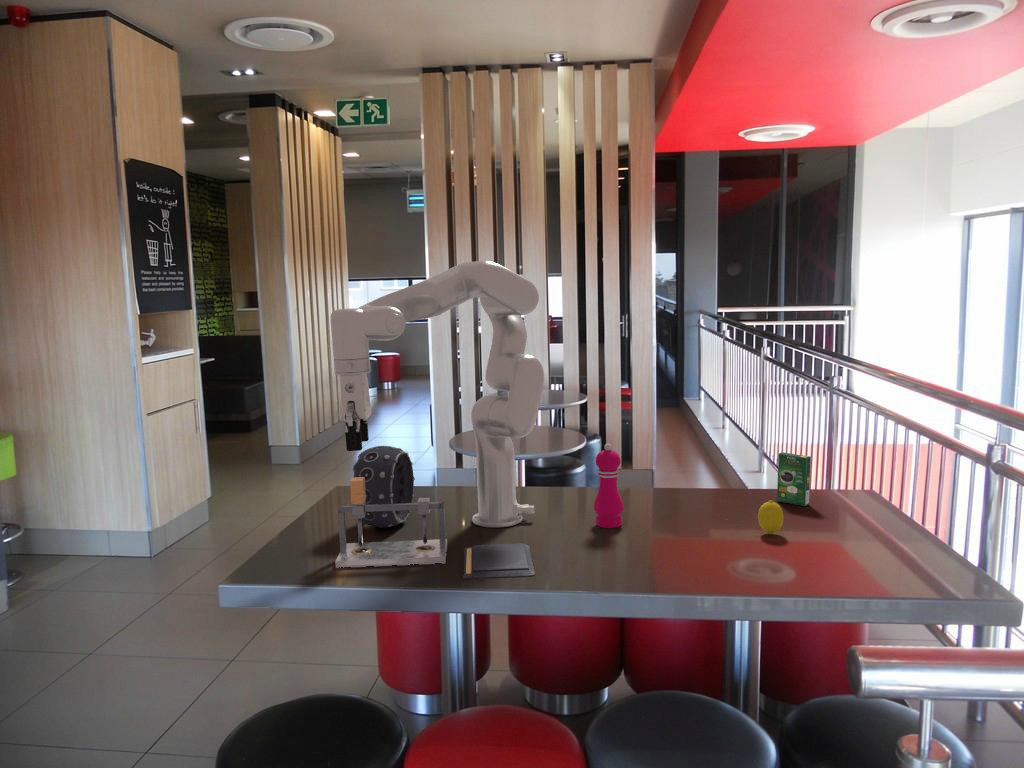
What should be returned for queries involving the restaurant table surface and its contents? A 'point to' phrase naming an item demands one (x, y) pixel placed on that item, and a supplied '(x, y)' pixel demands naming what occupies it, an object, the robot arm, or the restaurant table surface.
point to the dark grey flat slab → (498, 561)
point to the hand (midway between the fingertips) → (358, 445)
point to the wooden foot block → (358, 503)
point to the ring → (386, 483)
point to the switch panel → (394, 550)
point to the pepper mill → (608, 490)
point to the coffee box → (793, 479)
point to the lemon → (770, 517)
